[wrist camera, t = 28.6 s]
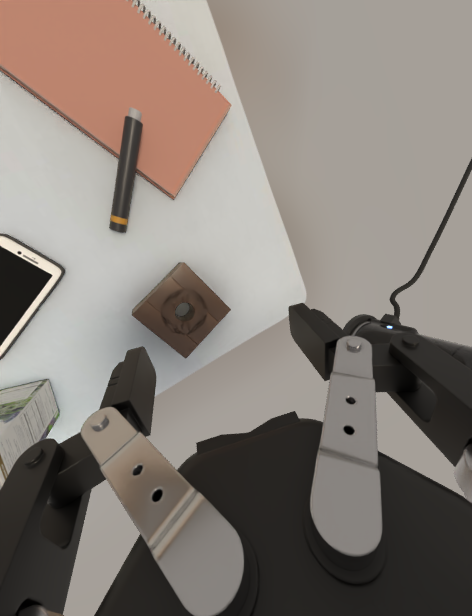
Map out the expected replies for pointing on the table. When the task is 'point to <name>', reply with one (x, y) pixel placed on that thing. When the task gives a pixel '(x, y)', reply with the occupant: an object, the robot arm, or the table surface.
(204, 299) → the pen stand
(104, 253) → the table surface
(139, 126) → the stylus
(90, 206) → the table surface
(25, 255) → the cell phone
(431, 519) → the robot arm
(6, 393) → the syrup box
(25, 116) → the table surface
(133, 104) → the notebook
